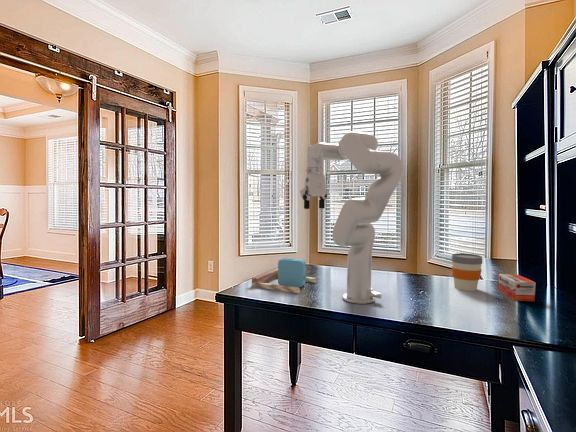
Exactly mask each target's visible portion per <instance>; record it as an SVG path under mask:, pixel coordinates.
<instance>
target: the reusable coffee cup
mask: <svg viewBox="0 0 576 432" xmlns="http://www.w3.org/2000/svg"><path fill="white" fill-rule="evenodd" d="M451 262H452V263H451V264H452V266H451V273H452V277H453V284H454V289H456V290H458V291H463V292H475V291H477V289H478V284H479V280H480V279H481V274H482V269H481V268H482V264H483V256H482V255H479V254H473V253H465V252H464V253H463V252H462V253H461V252H460V253H459V252H457V253H453V254H452V255H451Z"/></svg>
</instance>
